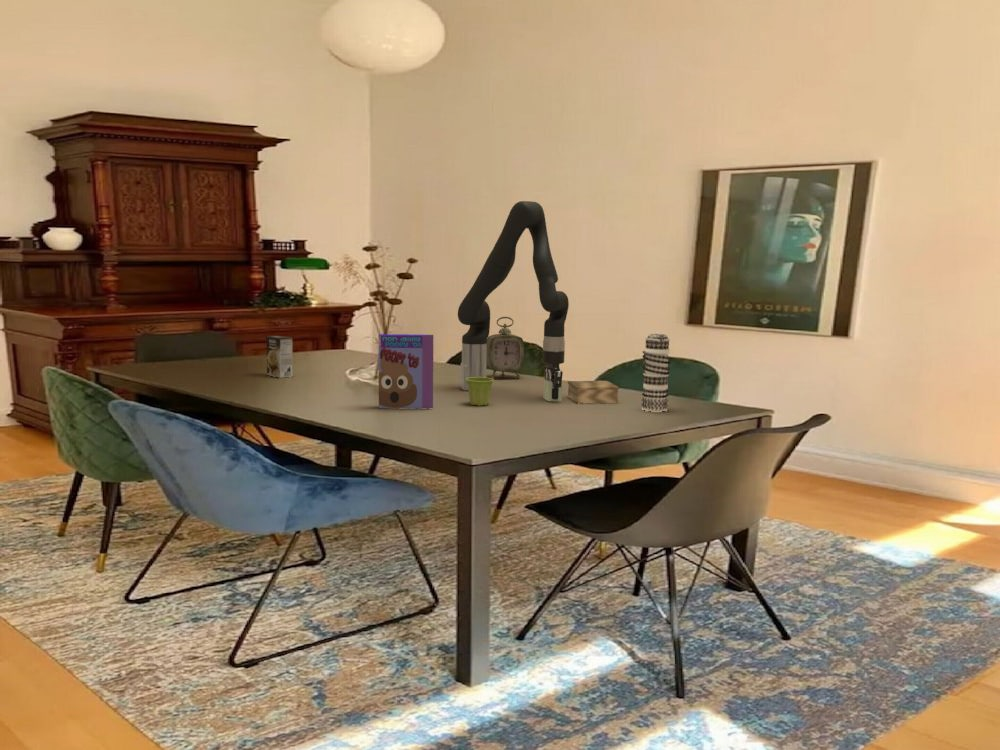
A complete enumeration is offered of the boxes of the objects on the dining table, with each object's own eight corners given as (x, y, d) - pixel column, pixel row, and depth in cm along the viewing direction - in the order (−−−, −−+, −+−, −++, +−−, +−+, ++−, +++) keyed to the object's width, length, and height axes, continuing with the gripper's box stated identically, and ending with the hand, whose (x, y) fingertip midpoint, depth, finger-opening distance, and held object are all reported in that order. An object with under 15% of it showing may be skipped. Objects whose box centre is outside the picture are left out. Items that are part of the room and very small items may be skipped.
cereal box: (378, 409, 276) (378, 335, 273) (379, 406, 281) (379, 333, 278) (432, 409, 277) (433, 335, 274) (433, 406, 282) (433, 334, 279)
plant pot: (486, 401, 293) (486, 376, 292) (498, 405, 285) (498, 380, 284) (461, 403, 289) (461, 377, 288) (472, 407, 281) (472, 381, 280)
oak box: (577, 405, 291) (577, 387, 290) (567, 397, 305) (567, 381, 304) (618, 404, 293) (618, 387, 293) (606, 397, 308) (606, 380, 307)
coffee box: (266, 376, 342) (265, 336, 339) (279, 374, 347) (279, 335, 344) (280, 378, 336) (279, 337, 334) (293, 377, 341) (292, 336, 338)
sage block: (547, 401, 295) (548, 381, 294) (543, 399, 300) (543, 379, 299) (561, 401, 296) (562, 381, 295) (557, 398, 301) (557, 379, 300)
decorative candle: (636, 407, 286) (639, 333, 282) (662, 407, 288) (665, 333, 284) (646, 412, 277) (649, 336, 274) (673, 412, 279) (676, 335, 276)
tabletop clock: (488, 380, 341) (489, 317, 337) (484, 377, 349) (484, 315, 346) (524, 379, 344) (525, 317, 340) (518, 376, 353) (519, 315, 349)
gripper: (537, 347, 301) (536, 394, 304) (549, 351, 287) (548, 401, 290) (557, 346, 303) (556, 394, 305) (570, 351, 289) (569, 401, 292)
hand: (552, 397), depth 298 cm, fingers closed on sage block, 5 cm apart
